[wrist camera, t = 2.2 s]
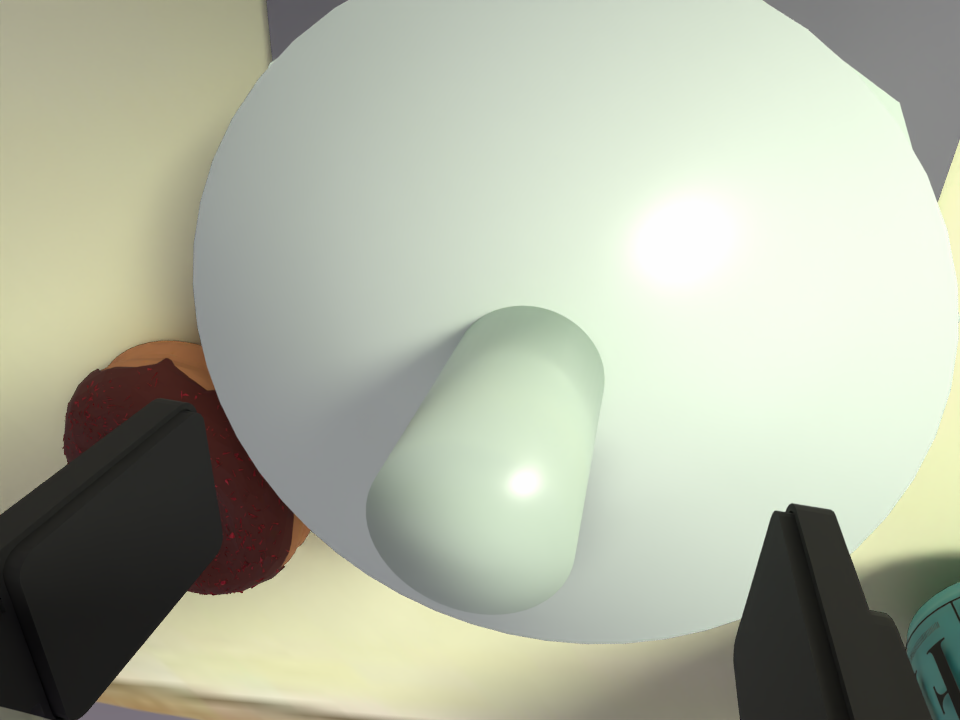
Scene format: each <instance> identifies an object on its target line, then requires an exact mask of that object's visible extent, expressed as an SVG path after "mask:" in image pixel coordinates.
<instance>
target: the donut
mask: <svg viewBox="0 0 960 720" xmlns="http://www.w3.org/2000/svg"><path fill="white" fill-rule="evenodd" d="M158 398H163V399H169V400H175V401H181V402H187V403H190V404H192V405H193V406H194V407H195V408H196V411H197V413H199V414H201V415H202V417H203V419H204V422H205V428H206V434H207V440H208V446H209V452H210V459H211V465H212V471H213V477H214V483H215V489H216V495H217V501H218V507H219V513H220V519H221V525H222V531H223V540H222V545H221V548H220V550H219V552H218V554H217V555H216V557H215V558H214V559H213V560H212V561H211V563H210V564H209V565H208V566H207V567H206V569H205V570H204V571H203V572H202V574H201V575H200V576H199V577H198V578H197V580H196V581H195V582H194V583H193V584H192V586H191V587H190V588H189V589H188V590H187V591H190V592H192V593H193V592H194V593H199V595H200V594H202V595H203V594H204V595H207V594H212V595H220V594H228V593H230V594H231V593H235V592H240V593H243V592H242V591H244V590H246V589H248V588H251V589H252V588H253V587H255V586H256V585H258V584H260V583H262V582H265V581H267V580H269V579H272V578H273V577H274V576H275V575H276V574H278V573H279V572H280V571H281V570H282V569H283V568H284V567H285V566H284V564H286V563H287V562H288V561H289V560H290V558H291V557H292V556H293V554H294V553H295V551H296V549H297V547H299V546H300V545H301V544H302V543H303V542H304V540H305V539H306V537H307V536H308V534H309V532H310V529H309V528H308V527H307V526H306V525H305V524H304V523H303V522H302V521H301V520H300V519H299V518H298V517H297V516H296V515H295V514H294V513H293V512H292V511H291V510H290V509H289V507H288V506H287V505H286V504H285V503H284V502H283V501H282V500H281V499H280V498H279V496H278V495H277V494H276V492H275V491H274V490H273V489H272V487H271V486H270V485H269V484H268V482H267V481H266V480H265V478H264V477H263V476H262V475H261V473H260V472H259V471H258V469H257V468H256V466H255V465H254V463H253V461H252V460H251V458H250V457H249V455H248V454H247V452H246V450H245V449H244V447H243V446H242V444H241V443H240V441H239V439H238V438H237V436H236V434H235V432H234V430H233V428H232V426H231V424H230V422H229V420H228V418H227V416H226V414H225V412H224V409H223V407H222V405H221V403H220V401H219V398H218V395H217V393H216V390H215V387H214V384H213V382H212V379H211V376H210V373H209V371H208V368H207V365H206V361H205V356H204V352H203V348H202V346H201V345H198V344H194V343H187V342H180V341H156V342H149V343H145V344H142V345H138V346H135V347H133V348H131V349H128V350H127V351H125V352H124V353H122V354H120V355H119V356H118V357H116V358H115V359H114V360H113V361H112V362H111V364H110V365H109V366H108V367H107V368H105V369H103V370H101V371H100V370H99V369H96V370H95V371H93V372H91V373H90V374H89V375H88V376H87V377H86V378H85V379H84V380H83V381H82V382H81V383H80V384H79V385H78V387H77V389H76V391H75V393H74V395H73V396H72V398H71V400H70V402H69V403H68V407H67V413H66V422H65V434H64V438H63V441H64V447H63V448H64V455H66V458H67V462H68V463H67V465H68V464H69V463H70V462H71V461H73V460H74V459H75V458H77V457H78V456H79V455H81V454H82V453H83V452H85V451H86V450H87V449H89V448H90V447H91V446H93V445H94V444H95V443H97V442H98V441H99V440H101V439H102V438H103V437H105V436H106V435H107V434H109V433H110V432H111V431H113V430H114V429H115V428H117V427H118V426H119V425H121V424H122V423H123V422H125V421H126V420H127V419H129V418H130V417H131V416H133V415H134V414H135V413H137V412H138V411H139V410H141V409H142V408H143V407H145V406H146V405H147V404H149V403H150V402H151V401H153V400H155V399H158ZM63 448H62V449H63Z"/></svg>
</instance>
